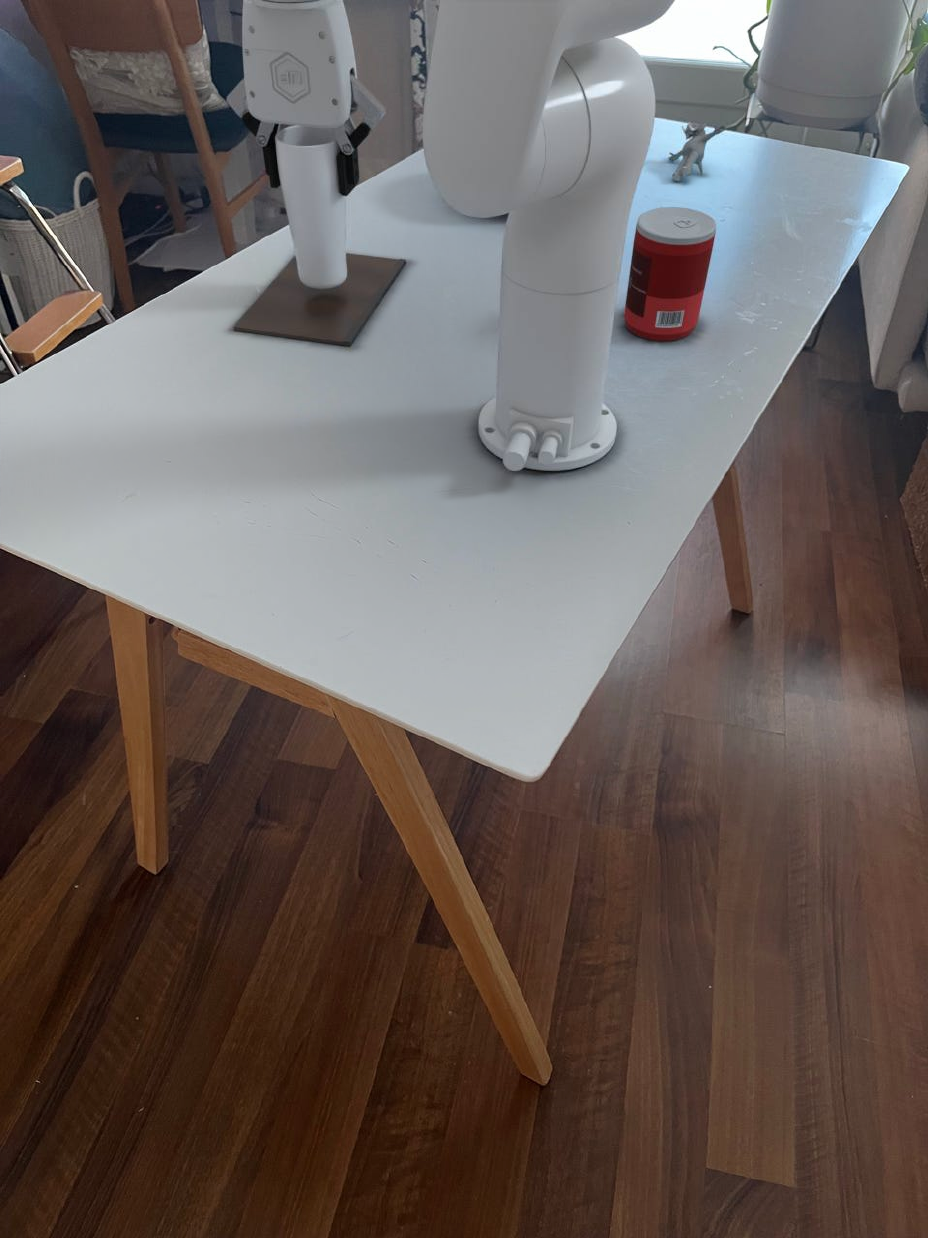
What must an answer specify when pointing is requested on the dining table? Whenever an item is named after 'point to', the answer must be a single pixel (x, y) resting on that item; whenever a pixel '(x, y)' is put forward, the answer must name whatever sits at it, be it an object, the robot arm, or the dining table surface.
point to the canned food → (668, 272)
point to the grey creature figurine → (693, 148)
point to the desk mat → (322, 302)
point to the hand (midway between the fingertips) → (313, 185)
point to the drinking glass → (313, 203)
